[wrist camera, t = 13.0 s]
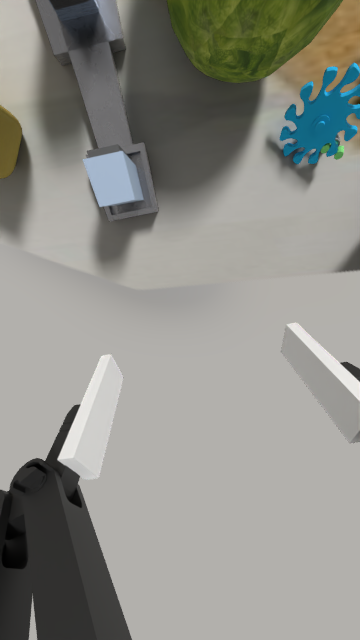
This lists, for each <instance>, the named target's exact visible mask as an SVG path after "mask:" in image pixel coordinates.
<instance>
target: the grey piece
mask: <svg viewBox="0 0 360 640" xmlns="http://www.w3.org/2000/svg"><path fill="white" fill-rule="evenodd" d="M36 3H37V6H38V9H39V12H40V15H41V18H42V21H43V24H44V27H45V30H46V33H47V36H48V39H49V41H50V44H51V47H52V50H53V53H54V56H55V57H56V58H57V59H58V61H59V62H60V63H61V65H65V64H69V63H72V65H73V68H74V71H75V75H76V78H77V81H78V84H79V87H80V91H81V94H82V97H83V100H84V103H85V107H86V110H87V113H88V116H89V120H90V123H91V126H92V129H93V132H94V136H95V139H96V142H97V145H98V148H102V147H107V146H111V145H116V144H118V145H119V146H120V147H121V148H122V149H123V150H124V152H125V153H126V154H127V155H128V157H129V159H130V160H131V161H132V162H133V163H134V164H135V165H136V168H137V173H138V177H139V181H140V186H141V190H142V194H143V198H144V200H141V201H136V202H131V203H126V204H121V205H115V206H105V207H104V209H105V212H106V215H107V218H108V221H114V220H119V219H124V218H129V217H134V216H139V215H143V214H148V213H153V212H158V211H159V209H158V204H157V199H156V194H155V189H154V184H153V179H152V174H151V170H150V165H149V160H148V155H147V150H146V146H145V144H144V142H142V143H138V144H133V140H132V135H131V131H130V127H129V122H128V118H127V114H126V109H125V105H124V101H123V96H122V92H121V88H120V83H119V79H118V75H117V70H116V66H115V61H114V57H113V52H117V51H121V50H125V49H126V47H125V42H124V37H123V32H122V27H121V22H120V17H119V12H118V7H117V2H116V0H36ZM86 157H87V158H89V156H88V155H86Z"/></svg>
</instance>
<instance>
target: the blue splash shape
mask: <svg viewBox="0 0 360 640" xmlns="http://www.w3.org/2000/svg"><path fill="white" fill-rule="evenodd" d="M337 69H338V68H337V67H328V68H327V69H326V70H325V72H324V76H323V85H322V88H321V90H320V92H319V94H318V96H317V97H316V99H315V100H313V101H309V96H310V95H311V93H312V89H313V82H312V81H311V82H309V83H307V84H306V85H304V86H303V87H302V88H301V92H300V97H301V99H302V100H303V102H304V112H303V113H302V114H301V115H300V116H297V115H296V105H295V104H292V105H291V106H290V107H289V108H288V110H287V111H286V113H285V119H286V120H290V121H292V122H294V123H295V125H296V127H297V129H296V130H295V131H290V129H289V127H287V126H285V127H283V129H282V131H281V135H280V140H281V141H283V140H285V139H288V138H293V139H296V140H297V141H298V142H297V143H295V144H291V143H287V144H285V145H284V149H283V152H284V156H288V155H289V154H290V153H291V152H292V151H294V150H295V149H298V148H301V147H304V148H305V149H304V150H303V151H301V152H298V153H296V154H295V155H294V157H293V161H294V163H296V164H299V163H300V162H301V160H302V158H303V157H304V156H305V154H306V153H308V152H309V151H310V150H312V149H316V151H315V152H314V153H312V154H311V155H310V156H309V160H308V163H310V164H315V163H317V161H318V157H319V152H320V150H321V153H326V152H327V154H326V155H327V157H328V156H332V155H334V154H335V155H334V158H335V159H340V158H341V157H342V156H343V152H344V147H343V146H339V145H340V137H339V134H338V132H340V131H342V130H344V131H345V135H344V140H345V141H349V140H350V139H351V138H352V137H353V136H355V134H356V133H357V126H352V125H350V124H348V123H347V120H346V118H347V116H348V115H350V114H351V113H355V114H356V117H357V118H358V119H360V104H359V105H352V104H349V103H348V101H349V99H350V98H351V97H353V96H359V97H360V84H359V85H358V86H356V87H355V88H354V89H352V90H350V91H348V92H345V93H341V92H340V90H341V88H342V87H343V86H345V85H346V84H349V83H352V82H353V81H355V80H356V79H357V77H358V76H359V73H360V69H359V66H358V65H357V64H355V63H353V64H352V65H351V66H350V67H349V68H348V70H347V72H346V74H345V76H344V77H343V79H342V80H341V82H340V83H339V84H338V85H337V86H336V87H335V88H334V89H333V90H331V91H330V92H326V91H325V89H326V87H327V86H328V85H329V84H330V83H331V82H332V81H333V80H334V79H335V77H336V75H337Z"/></svg>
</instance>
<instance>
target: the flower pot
mask: <svg viewBox="0 0 360 640" xmlns="http://www.w3.org/2000/svg"><path fill="white" fill-rule="evenodd" d="M21 138H22V128H21V125H20V123H19V122H18V120H17V119H16V118H15V117H14V116H13V115H12V114H11V113H10V112H9V111H8V110H6V109H5V108H4V107H2V106H1V105H0V179H1V178H6V177H8V176H9V175H10V174H11V173H12V172H13V170H14V168H15V166H16V161H17V156H18V151H19V147H20V142H21Z"/></svg>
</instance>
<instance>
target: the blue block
mask: <svg viewBox="0 0 360 640" xmlns="http://www.w3.org/2000/svg"><path fill="white" fill-rule="evenodd" d="M87 153H88V156H89V158H87V159H83V162H84V165H85V168H86V170H87V173H88V176H89V179H90V182H91V185H92V187H93V190H94V193H95V196H96V199H97V201H98V204H99V207H105V206H115V205H121V204H126V203H131V202H136V201H141V200H144V198H143V194H142V190H141V186H140V181H139V177H138V173H137V168H136V165H135V164H134V163H133V162H132V161H131V160H130V159H129V157H128V155H127V154H126V153H125V152H124V150H123V149H122V148H121V147H120V146H119V145H118V144H116V145H111V146H107V147H102V148H98V149H93V150H89V151H87Z"/></svg>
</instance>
